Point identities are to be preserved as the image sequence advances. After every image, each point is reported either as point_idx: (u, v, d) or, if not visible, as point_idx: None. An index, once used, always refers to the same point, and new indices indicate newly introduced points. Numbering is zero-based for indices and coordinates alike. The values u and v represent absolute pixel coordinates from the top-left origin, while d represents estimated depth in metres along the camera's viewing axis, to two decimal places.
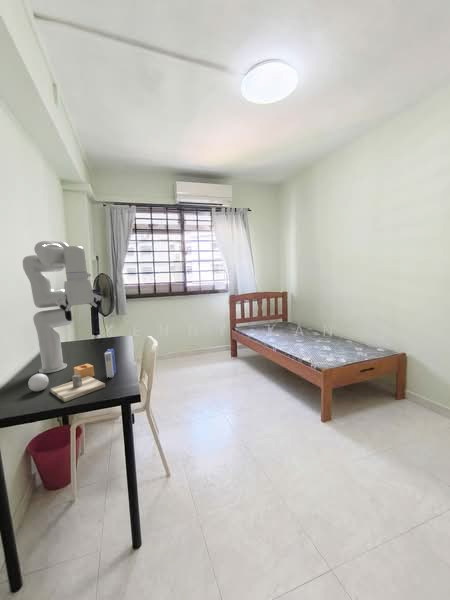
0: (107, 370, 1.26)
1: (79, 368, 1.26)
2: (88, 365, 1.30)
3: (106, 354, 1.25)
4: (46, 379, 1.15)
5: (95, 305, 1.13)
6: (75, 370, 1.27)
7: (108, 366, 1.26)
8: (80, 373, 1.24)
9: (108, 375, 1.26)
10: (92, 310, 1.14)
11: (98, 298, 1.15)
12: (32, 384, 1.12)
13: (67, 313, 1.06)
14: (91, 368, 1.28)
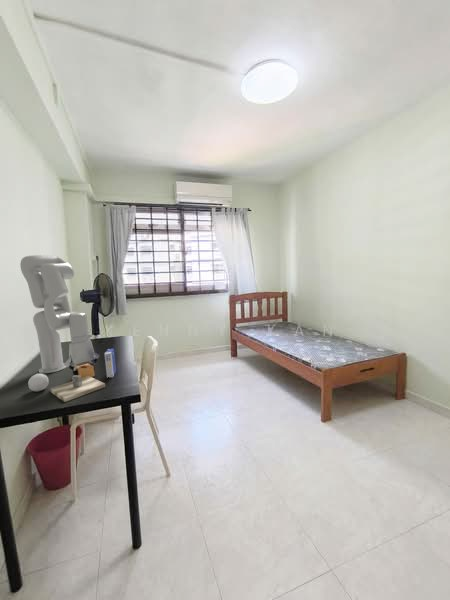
0: (107, 370, 1.26)
1: (79, 368, 1.26)
2: (88, 365, 1.30)
3: (106, 354, 1.25)
4: (46, 379, 1.15)
5: (93, 363, 1.31)
6: None
7: (108, 366, 1.26)
8: (80, 373, 1.24)
9: (108, 375, 1.26)
10: None
11: (97, 356, 1.32)
12: (32, 384, 1.12)
13: (75, 372, 1.25)
14: (91, 368, 1.28)
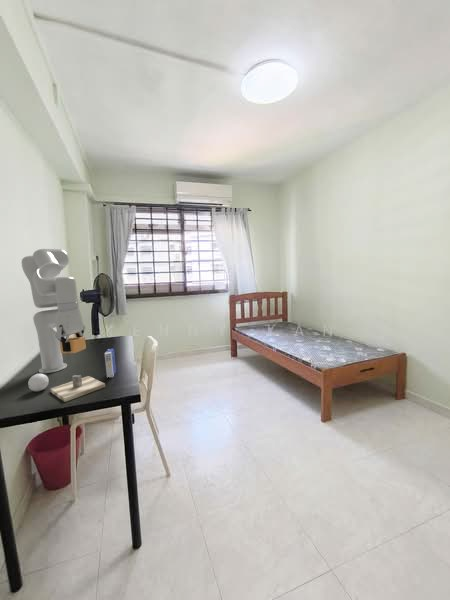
0: (107, 370, 1.26)
1: (71, 340, 1.10)
2: (76, 337, 1.14)
3: (106, 354, 1.25)
4: (46, 379, 1.15)
5: (81, 335, 1.16)
6: None
7: (108, 366, 1.26)
8: (74, 344, 1.09)
9: (108, 375, 1.26)
10: None
11: (83, 328, 1.18)
12: (32, 384, 1.12)
13: (66, 344, 1.08)
14: (83, 339, 1.14)
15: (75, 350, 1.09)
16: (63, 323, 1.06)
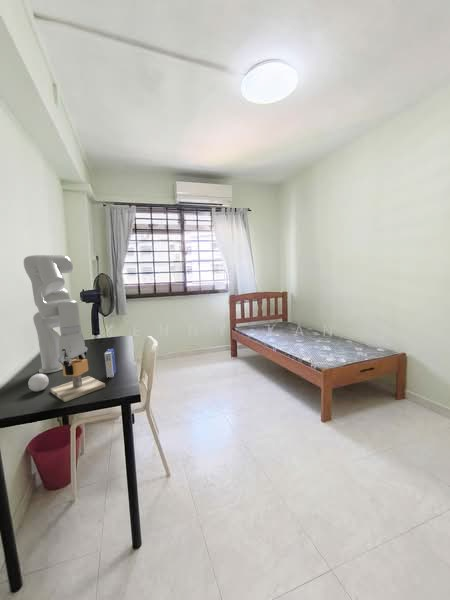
0: (107, 370, 1.26)
1: (74, 363, 1.11)
2: (79, 360, 1.15)
3: (106, 354, 1.25)
4: (46, 379, 1.15)
5: (84, 357, 1.17)
6: None
7: (108, 366, 1.26)
8: (77, 368, 1.10)
9: (108, 375, 1.26)
10: None
11: (85, 350, 1.19)
12: (32, 384, 1.12)
13: (69, 368, 1.09)
14: (85, 362, 1.15)
15: (78, 373, 1.10)
16: (66, 347, 1.07)
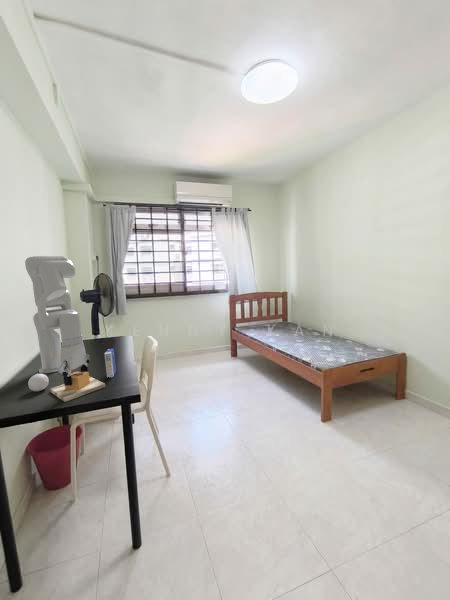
0: (107, 370, 1.26)
1: (75, 376, 1.11)
2: (80, 372, 1.16)
3: (106, 354, 1.25)
4: (46, 379, 1.15)
5: (87, 365, 1.19)
6: None
7: (108, 366, 1.26)
8: (78, 381, 1.11)
9: (108, 375, 1.26)
10: (84, 370, 1.18)
11: (87, 357, 1.20)
12: (32, 384, 1.12)
13: (68, 378, 1.08)
14: (87, 374, 1.15)
15: (79, 386, 1.11)
16: (67, 359, 1.08)
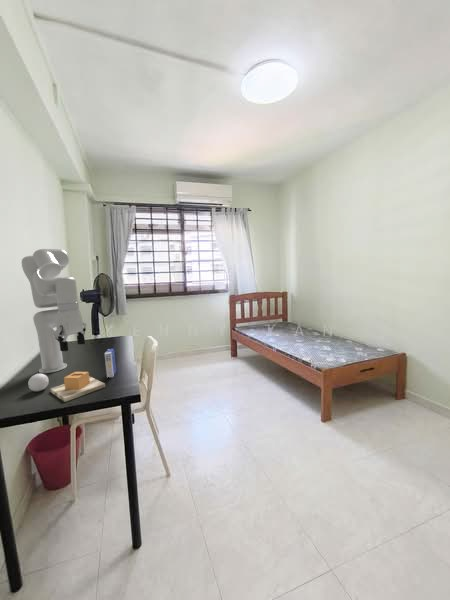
0: (107, 370, 1.26)
1: (75, 376, 1.11)
2: (80, 372, 1.16)
3: (106, 354, 1.25)
4: (46, 379, 1.15)
5: (83, 333, 1.17)
6: (68, 380, 1.11)
7: (108, 366, 1.26)
8: (78, 381, 1.11)
9: (108, 375, 1.26)
10: (80, 338, 1.17)
11: (84, 326, 1.19)
12: (32, 384, 1.12)
13: (64, 344, 1.07)
14: (87, 374, 1.15)
15: (79, 386, 1.11)
16: (63, 323, 1.07)
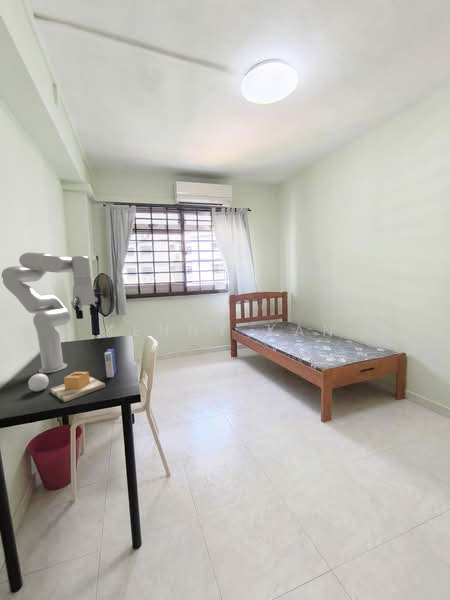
0: (107, 370, 1.26)
1: (75, 376, 1.11)
2: (80, 372, 1.16)
3: (106, 354, 1.25)
4: (46, 379, 1.15)
5: (95, 305, 1.35)
6: (68, 380, 1.11)
7: (108, 366, 1.26)
8: (78, 381, 1.11)
9: (108, 375, 1.26)
10: (92, 310, 1.35)
11: (96, 299, 1.37)
12: (32, 384, 1.12)
13: (79, 312, 1.25)
14: (87, 374, 1.15)
15: (79, 386, 1.11)
16: (79, 295, 1.25)
